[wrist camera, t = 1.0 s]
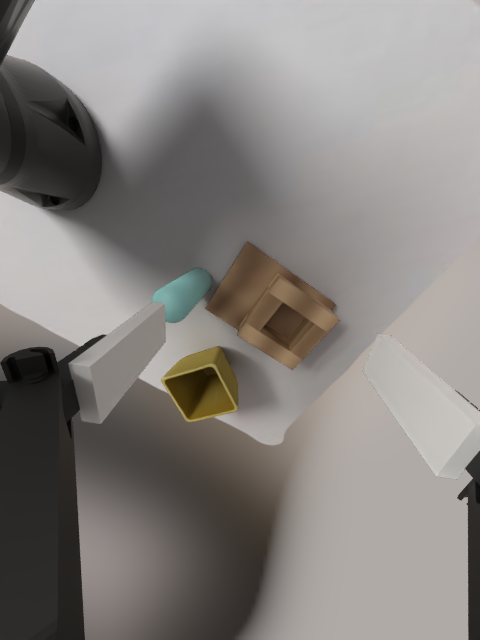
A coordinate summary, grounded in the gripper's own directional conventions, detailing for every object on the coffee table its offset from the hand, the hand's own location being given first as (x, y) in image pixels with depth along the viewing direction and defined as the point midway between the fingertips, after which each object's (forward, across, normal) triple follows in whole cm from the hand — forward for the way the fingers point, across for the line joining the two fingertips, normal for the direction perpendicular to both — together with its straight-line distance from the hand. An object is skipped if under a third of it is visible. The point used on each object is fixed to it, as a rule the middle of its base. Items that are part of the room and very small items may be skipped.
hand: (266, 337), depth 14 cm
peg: (+21, -9, -3) cm, 23 cm away
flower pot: (+21, -6, -17) cm, 28 cm away
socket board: (+21, +2, -5) cm, 22 cm away
